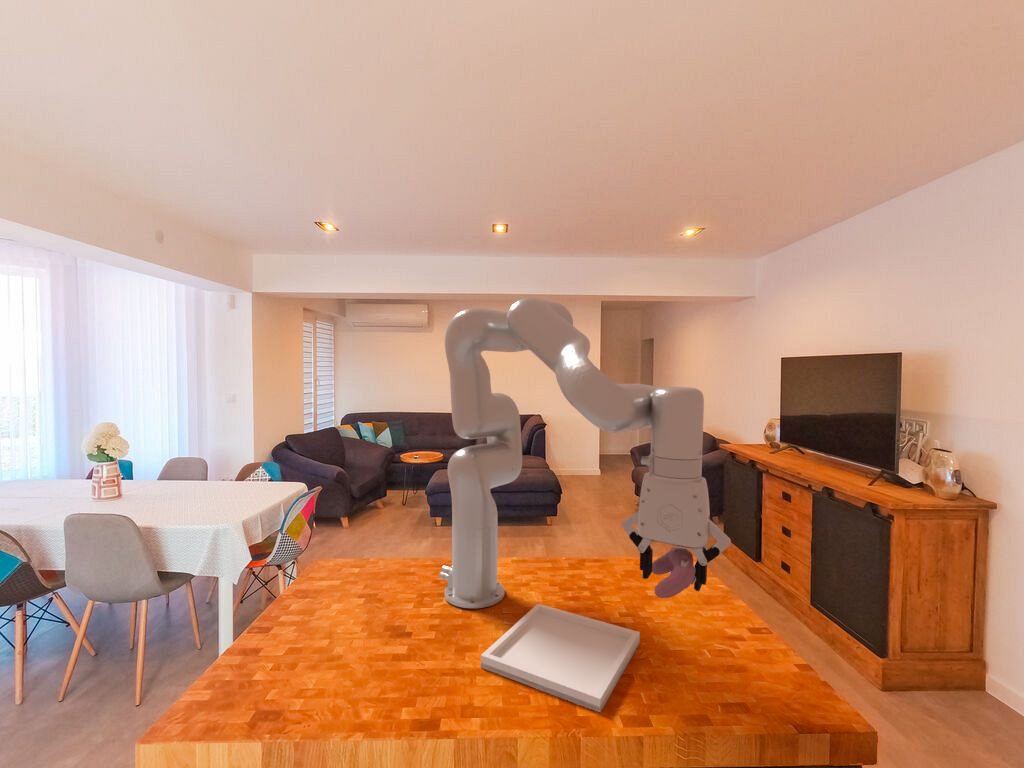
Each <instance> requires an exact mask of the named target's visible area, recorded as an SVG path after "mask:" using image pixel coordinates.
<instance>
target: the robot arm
mask: <svg viewBox="0 0 1024 768" xmlns="http://www.w3.org/2000/svg"><path fill="white" fill-rule="evenodd" d="M444 350H445V356H446V361H447V365H448V371H449V372H448V373H449V383H450V384H449V385H450V386H449V387H450V404H451V418H452V419H451V420H452V427H453V430H454V433H455V434H456V435H457V436H458V437H459V438H462V439H463V440H464V439H465V440H478V439H484V438H486V442H487V443H480V444H475V445H474V444H473V445H470V446H466V447H463V448H460V449H458V450H457V451H455V452H454V453H453V454H452V455H451V457H450V458H449V460H448V463H447V478H448V482H449V483H448V484H449V488H450V496H451V511H452V514H451V517H452V518H451V519H452V520H451V524H452V525H451V533H452V535H451V537H452V538H451V539H452V540H451V542H452V546H451V549H452V550H451V552H452V553H451V556H452V557H451V566H450V565H443V566H442V567H441V570H440V572H439V574H438V578H439V579H441V580H444V581H445V580H446V581H447V586H445V589H444V598H445V600H446V601H447V602H448V603H449V604H451V605H453V606H454V607H457V608H462V609H463V608H464V609H484V608H487V607H488V608H489V607H491V606H495V605H496V604H498V603H499V602H500V601H502V600H503V598H504V597H505V587H504V585H503V583H501V582H499V581H498V526H499V525H498V522H499V521H498V508H497V504H496V501H495V499H494V497H493V495H492V493H491V489H494V488H497V487H499V486H504V485H507V484H510V483H512V482H514V481H515V480H517V478H518V477H519V476H520V474H521V471H522V468H523V447H522V430H521V429H522V428H521V415H520V411H519V409H518V406H517V404H516V402H515V400H514V399H513V398H511V396H509V395H507V394H506V393H501V392H492V385H491V373H490V369H489V366H488V364H487V362H486V360H485V358H484V357H483V355H482V352H486V351H487V352H503V353H517V352H522V351H523V352H524V351H530V352H531V353H533V354H534V356H536V357H537V358H538V359H539V360H540V361H541V362H543V364H544V365H545V366H547V367H548V368H549V369H550V370H551V371H552V372H553V373H554V374H555V377H556V382H557V384H558V386H559V389H560V391H561V393H562V394H563V396H564V398H565V399H566V400H567V402H568V403H569V404H570V405H571V406H572V407H573V408H574V409H575V410H577V412H578V413H580V414H581V415H582V416H583V417H584V418H585V419H587V421H588V422H590V423H591V424H592V425H593V426H595V427H596V428H598V429H600V430H601V431H604V432H607V433H611V434H619V433H625V432H628V431H637V430H641V429H650V454H649V455H647V456H644V455H643V456H641V458H640V464H641V466H646V467H647V468H648V472H645V473H644V475H643V479H642V484H641V488H640V493H639V494H640V495H639V503H638V511H636V512H635V513H634V514H632V515H630V516H628V517H627V518H625V519H624V520H623V521H622V522H621V526H622V528H623V529H624V531H625V532H626V534H627V535H628V536H629V540H630V541H631V542H632V543H633V544H634V545H635V546H636V547H637V551H638V552H639V570H640V571H642V579H644V580H647V579H649V577H650V576H651V575H652V573H653V572H652V564H653V556H654V555H653V554H654V553H653V551H654V550H653V548H652V547H651V544H652V542H654V543H655V542H656V543H659V544H660V543H662V544H666V545H671V546H675V547H676V546H678V547H679V548H685V549H692V551H693V553H694V554H695V557H696V562H695V564H694V567H695V569H696V572H695V576H696V581H695V583H693V584H694V585H693V589H694V591H696V592H700V591H701V588H702V587H703V586H702V585H707V580H708V579H707V577H708V576H707V575H708V564H709V563H710V562H711V561H713V560H715V559H716V558H717V557H718V556H720V554H722V553H723V552H725V550H726V549H727V548H728V547H730V545H731V542H732V540H731V538H730V537H729V536H728V535H727V534H726V533H725V532H723V530H722V529H720V527H718V526H717V525H716V524H715V523H714V522H713V521H712V520H711V516H710V515H711V513H710V511H711V510H710V498H709V487H708V483H707V479H706V478H705V477H704V476H702V473H703V472H702V469H703V443H704V441H703V440H704V437H703V436H704V415H705V414H704V413H705V411H704V410H705V409H704V407H705V399H704V394H703V391H701V390H700V389H698V388H696V387H687V386H661V387H659V386H655V385H651V384H643V383H616V381H615V382H614V381H613V380H612V379H611V378H610V377H609V376H607V375H606V374H605V373H603V371H601V370H600V369H599V368H598V367H597V366H596V365H594V363H593V362H592V361H591V360H590V359H589V357H588V355H589V352H590V350H591V342H590V339H589V338H588V336H587V335H585V334H584V333H583V332H581V331H580V330H579V329H578V328H576V327H575V326H574V319H573V316H572V314H571V311H569V310H568V308H567V307H566V306H565V305H564V304H561V303H560V302H556V301H552V300H547V299H542V298H537V297H525V298H521V299H518V300H517V301H515V302H514V303H512V305H511V306H510V308H509V309H508V311H503V310H495V309H490V308H479V307H476V308H475V307H474V308H467V309H464V310H461V311H459V312H458V313H456V314H455V315H454V316H453V317H452V319H451V320H450V321H449V323H448V325H447V328H446V332H445V336H444ZM635 524H637V527H635ZM636 528H637V529H636ZM710 536H712V537H713V538H714V539H715V540H716V543H715V544H714V545H711V547H709V548H708V549H707V546H706V545H707V543H708V539H709V538H710Z"/></svg>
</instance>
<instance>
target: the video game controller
mask: <svg viewBox="0 0 1024 768" xmlns="http://www.w3.org/2000/svg"><path fill="white" fill-rule="evenodd" d="M695 572H696V569H695V565H694V557H693V553H692V552H691V551H690V550H688V548H685V547H680V546H675V547H672V548H671V549H670V550H668V552H666V553H665V554H664V555H662V556H660V557H658V558H656V559H655V560H654V561H652V573H653V574H654V575H659V576H661V575H665V574H669V573H670V574H669V575H668V576H667V577H665V578H663V579H662V580H660V581H658V583H657V584H655V585H656V586H655V587H654V594H655V596H656V597H657V598H659V599H669V598H673V597H675V596H676V595H678V594H680V593H682V592H683V591H684V590H685V589H688V588H689V587H690V586H691V585H693V584H694V583H695V581H696V576H695Z"/></svg>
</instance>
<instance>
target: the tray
mask: <svg viewBox="0 0 1024 768" xmlns="http://www.w3.org/2000/svg"><path fill="white" fill-rule="evenodd" d="M640 634H641V632H640V631H636V630H634V629H631V628H626V627H622V626H620V625H616V624H613V623H610V622H605V621H602V620H597V619H594V618H591V617H587V616H584V615H581V614H576V613H573V612H570V611H566V610H562V609H559V608H555V607H552V606H548V605H545V604H540V603H537V604H536V605H534V606H533V607H532V608H531V609H530V610H529V611H528V612H527V613H526V614H524V616H522V617H521V618H520V619H519V620H518V621H516V623H514V624H513V626H512V627H510V628H509V629H508V630H507V631H506V632H505V633H504V634H503V635H502V636H500V637H499V638H498V639H497V640H496V641H495V642H494V643H492V645H490V646H489V647H488V648H487V649H486V650H485V651H484V652H483V653H481V654H480V668H481V669H483V670H485V671H489V672H492V673H494V674H496V675H500V676H501V677H504V678H507V679H510V680H513V681H514V682H517V683H521V684H523V685H525V686H528V687H531V688H534V689H535V690H538V691H541V692H543V693H547V694H549V695H551V696H554V697H556V698H557V697H558V698H559V699H562V700H564V701H567V700H568V701H567V702H571V703H573V704H575V705H577V706H580V705H582V706H581V707H583V706H584V707H583V708H586V709H588V708H589V709H588V710H591V709H593V710H595V711H594V712H596V711H598V712H597V713H599V712H600V713H601V712H602V711H603V708H604V707H605V705H606V703H607V701H608V700H609V698H610V696H611V695H612V693H613V691H614V689H615V687H616V686H617V684H618V682H619V681H620V678H622V675H623V673H624V672H625V670H626V668H627V666H628V665H629V663H630V661H631V659H632V658H633V656H634V654H635V652H636V650H637V649H638V647H639V645H640V638H641V635H640ZM593 710H592V711H593ZM601 710H602V711H601Z"/></svg>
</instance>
